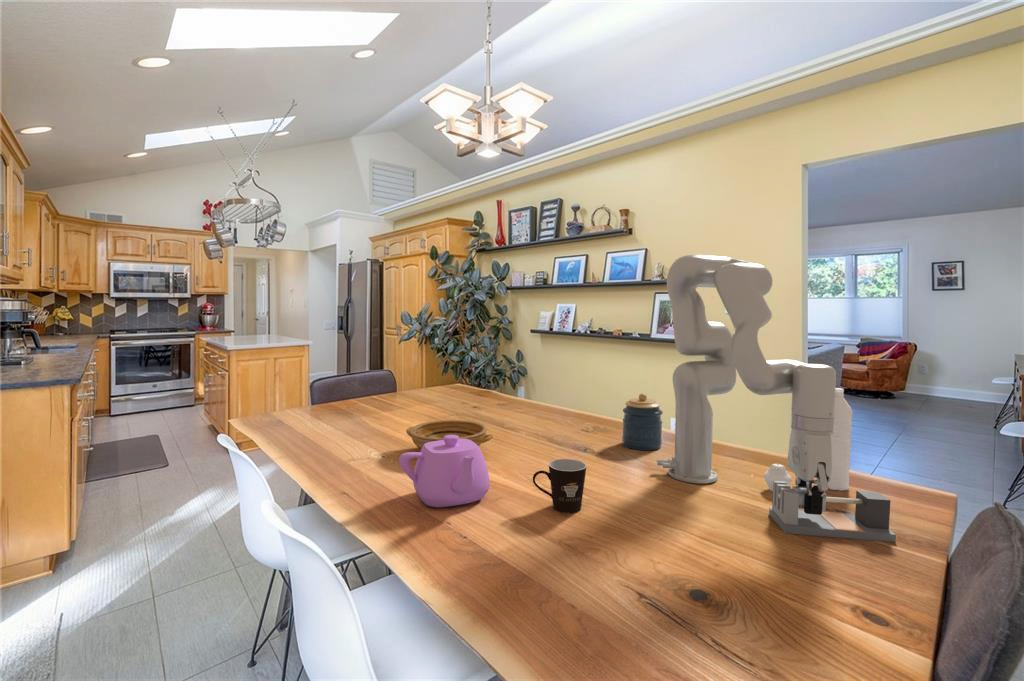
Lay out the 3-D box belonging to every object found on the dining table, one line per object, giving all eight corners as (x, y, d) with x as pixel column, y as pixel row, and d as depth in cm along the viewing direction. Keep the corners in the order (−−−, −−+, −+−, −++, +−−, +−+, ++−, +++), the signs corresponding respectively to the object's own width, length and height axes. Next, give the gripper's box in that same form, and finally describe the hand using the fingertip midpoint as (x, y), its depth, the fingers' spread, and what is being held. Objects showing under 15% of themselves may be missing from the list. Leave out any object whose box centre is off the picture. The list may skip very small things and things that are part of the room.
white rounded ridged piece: (767, 484, 123) (768, 458, 122) (794, 490, 118) (795, 463, 118) (759, 490, 118) (760, 463, 118) (786, 497, 114) (788, 469, 114)
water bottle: (848, 493, 117) (853, 393, 115) (817, 487, 121) (822, 391, 119) (848, 482, 124) (853, 389, 123) (819, 477, 128) (823, 386, 126)
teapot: (392, 493, 116) (392, 433, 115) (473, 480, 125) (473, 424, 124) (414, 532, 95) (413, 460, 94) (508, 514, 104) (508, 447, 103)
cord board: (784, 533, 96) (786, 494, 95) (769, 514, 104) (770, 479, 104) (895, 542, 92) (897, 502, 92) (869, 522, 101) (871, 485, 100)
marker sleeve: (798, 508, 97) (799, 492, 97) (791, 501, 101) (792, 486, 101) (825, 510, 96) (826, 494, 96) (817, 503, 100) (818, 487, 100)
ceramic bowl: (506, 447, 155) (506, 423, 154) (475, 471, 132) (475, 443, 132) (427, 439, 165) (427, 416, 164) (386, 459, 142) (386, 433, 142)
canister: (667, 451, 152) (668, 397, 151) (626, 451, 152) (627, 397, 151) (655, 440, 165) (656, 390, 164) (618, 440, 165) (619, 390, 164)
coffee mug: (588, 502, 110) (589, 461, 110) (582, 517, 102) (582, 473, 102) (541, 496, 114) (541, 455, 114) (531, 510, 106) (531, 467, 106)
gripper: (777, 414, 106) (774, 493, 108) (809, 432, 90) (805, 525, 91) (813, 415, 105) (810, 495, 106) (853, 434, 89) (848, 528, 90)
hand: (808, 508), depth 99 cm, fingers closed on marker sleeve, 3 cm apart
